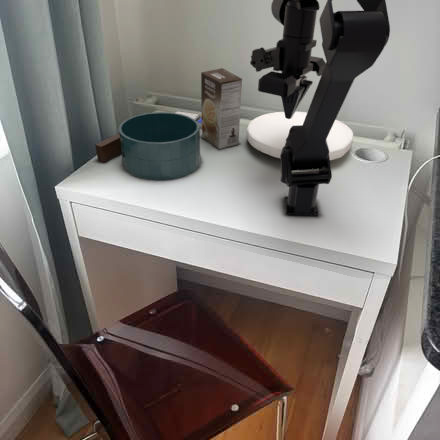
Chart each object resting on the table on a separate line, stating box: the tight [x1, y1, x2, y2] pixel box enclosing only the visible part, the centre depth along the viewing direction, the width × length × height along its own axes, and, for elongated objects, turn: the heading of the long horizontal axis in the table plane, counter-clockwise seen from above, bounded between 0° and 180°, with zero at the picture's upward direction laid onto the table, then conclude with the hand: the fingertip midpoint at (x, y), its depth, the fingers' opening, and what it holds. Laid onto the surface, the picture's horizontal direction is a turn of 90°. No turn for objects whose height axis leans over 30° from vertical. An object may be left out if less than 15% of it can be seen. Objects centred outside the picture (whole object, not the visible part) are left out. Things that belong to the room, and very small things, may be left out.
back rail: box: [95, 132, 122, 164], centre depth 111 cm, size 2×16×4 cm, turn 148°
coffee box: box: [200, 67, 243, 150], centre depth 112 cm, size 9×6×16 cm
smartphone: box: [174, 110, 200, 121], centre depth 125 cm, size 7×1×15 cm
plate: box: [245, 110, 354, 161], centre depth 114 cm, size 28×6×27 cm
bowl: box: [118, 111, 201, 181], centre depth 105 cm, size 18×18×8 cm
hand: (288, 118), depth 95 cm, fingers closed
